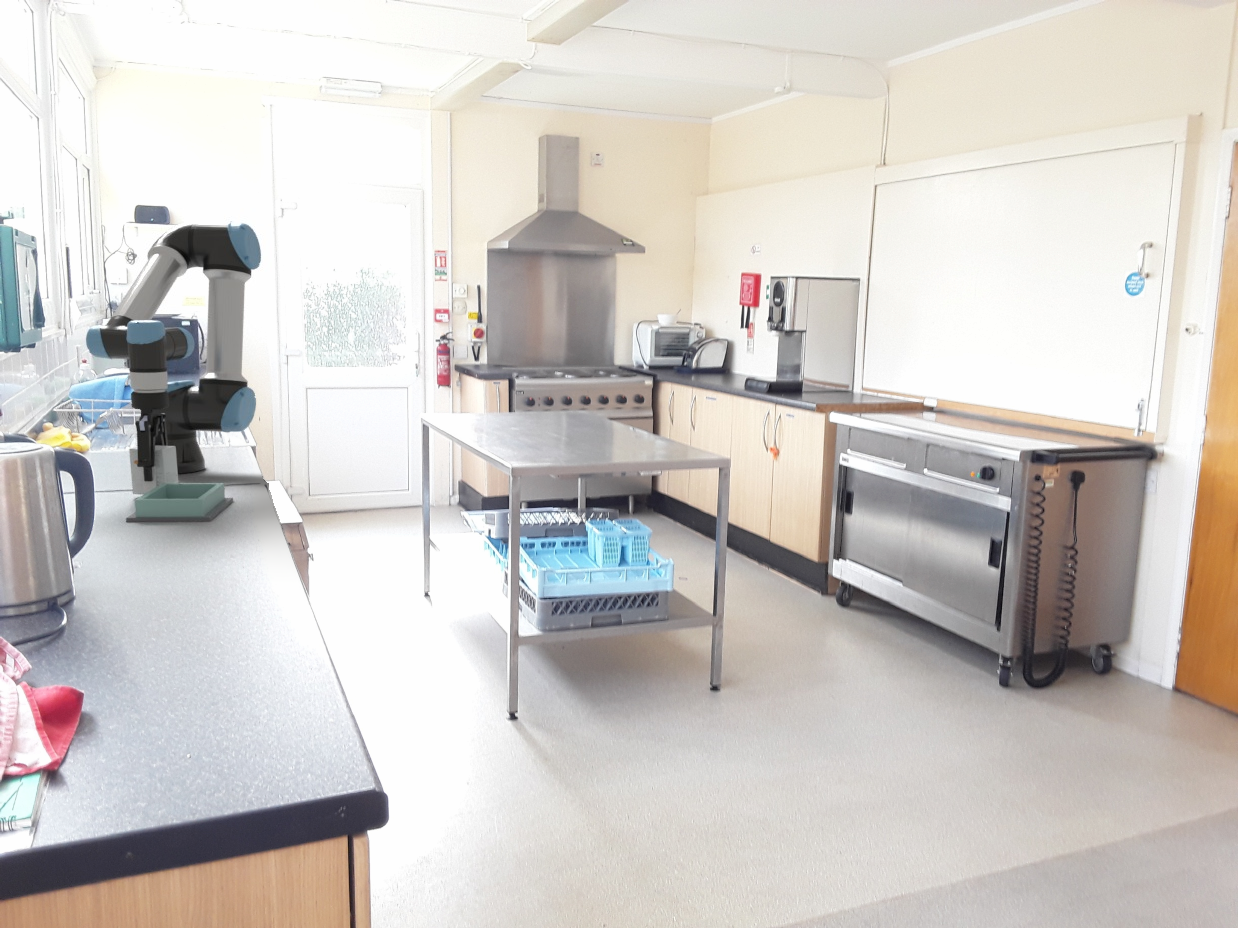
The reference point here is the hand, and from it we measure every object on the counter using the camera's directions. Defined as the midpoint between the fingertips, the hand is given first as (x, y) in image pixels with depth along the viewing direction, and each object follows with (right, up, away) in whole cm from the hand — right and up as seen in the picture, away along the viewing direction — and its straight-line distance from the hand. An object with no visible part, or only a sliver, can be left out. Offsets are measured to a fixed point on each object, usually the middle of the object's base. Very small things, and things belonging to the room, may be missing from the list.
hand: (155, 491), depth 215 cm
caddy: (+12, -4, -13) cm, 18 cm away
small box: (0, 0, 0) cm, 0 cm away
